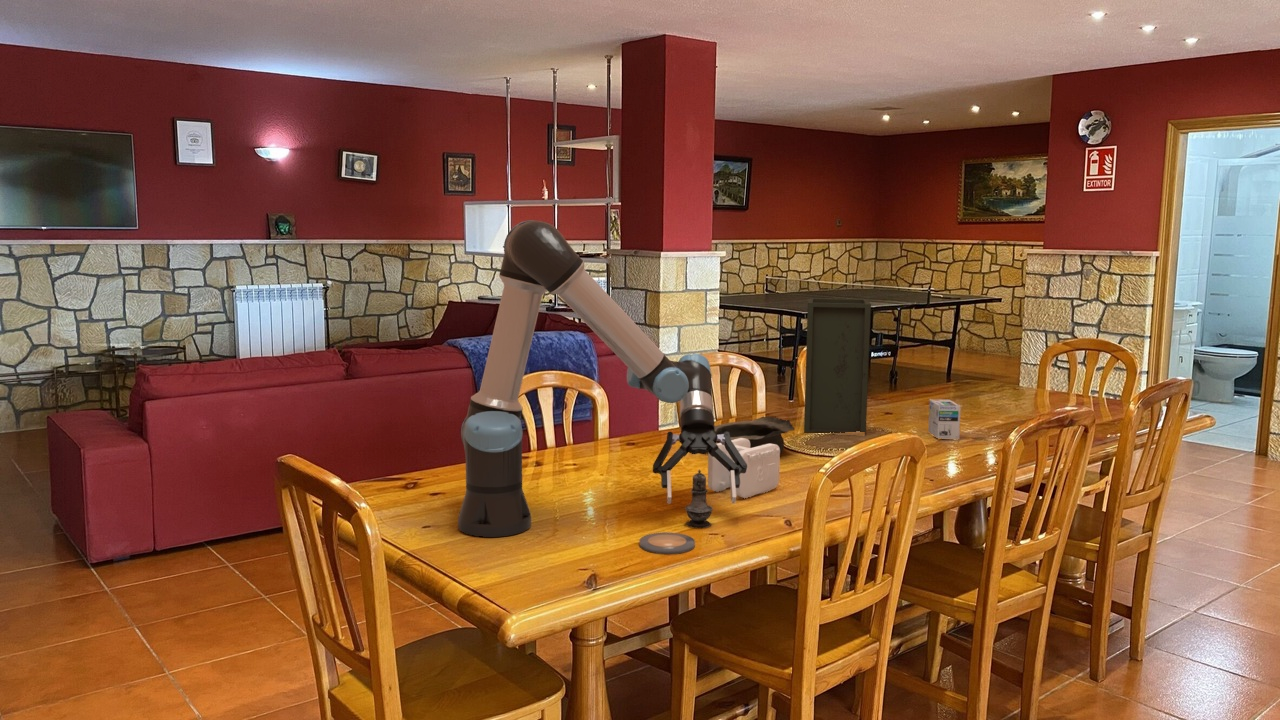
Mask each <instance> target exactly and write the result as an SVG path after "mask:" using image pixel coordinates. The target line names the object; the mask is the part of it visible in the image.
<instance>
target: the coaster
mask: <svg viewBox="0 0 1280 720" xmlns="http://www.w3.org/2000/svg"><path fill="white" fill-rule="evenodd" d="M695 546H696V541H695V539H694V538H693V537H691V536H689V535H687V534H683V533H680V532H679V533H678V532H667V531H666V532H653V533H648V534H645V535H644V536H642V537H640V539H639V548H640V549H642V550H644V551H646V552H647V553H653V554H657V555H678V554H684V553H688V552H690V551H692V550H694V549H695Z"/></svg>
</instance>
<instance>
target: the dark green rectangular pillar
mask: <svg viewBox="0 0 1280 720" xmlns="http://www.w3.org/2000/svg"><path fill="white" fill-rule="evenodd" d="M871 310H872V304H871V302H870V301H869V299H856V298H855V299H852V298H850V299H849V298H848V299H847V298H845V299H844V298H808V299H807V316H806V317H807V318H806V319H807V320H806V348H805V351H806V352H805V353H806V354H805V356H806V357H805V358H806V359H805V381H804V382H805V384H804V385H805V387H804V414H803V415H804V418H803V419H804V420H803V421H804V422H803V434H804V433H830V432H831V433H833V432H834V433H840V432H841V433H845V432H856V431H860V432H866V433H867V415H868V414H867V412H868V390H869V389H868V387H869V368H870V367H869V361H870V335H871V313H872V312H871Z"/></svg>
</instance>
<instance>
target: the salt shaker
mask: <svg viewBox="0 0 1280 720" xmlns="http://www.w3.org/2000/svg"><path fill="white" fill-rule="evenodd" d="M708 491H709V490H708V489H707V476H706V475H705V474H704V473H702V470H700V469H698V471H697V473H695V474H694V475H693V476H692V488H691V489H690V492H691V502H690V504H689V505H686V506H685V507H684V509H685V510H686V515H687V517H688V518H689V519H690V520H688V521H687V522H686V523H685V524H686V526H687V527H689V528H692V529H706V528H710V527H711V526H712V523H711V522H710V521H708V519H709V518H710V517H711V515H712V511H713V510H714V508H713V507H712V506H711V505H708V502H707V493H708ZM709 526H710V527H709Z"/></svg>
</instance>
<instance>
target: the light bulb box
mask: <svg viewBox="0 0 1280 720" xmlns="http://www.w3.org/2000/svg"><path fill="white" fill-rule="evenodd" d="M928 403H929V404H928V405H929V406H928V407H929V409H928V429H927V431H929V432H930V433H931V434H933V435H934V436H935V437H936V438H942V439H959V440H960V436H961V435H960V434H961V433H960V432H961V430H960V428H961V411H962V410H961V409H962V406H961V405H960V404H958V403H956V402H955V401H953V400H951V399H943V398H942V399H940V398H939V399H935V398H934V399H933V398H929V402H928Z"/></svg>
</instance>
